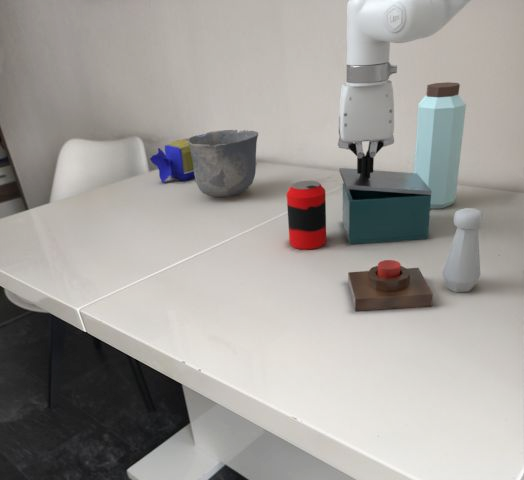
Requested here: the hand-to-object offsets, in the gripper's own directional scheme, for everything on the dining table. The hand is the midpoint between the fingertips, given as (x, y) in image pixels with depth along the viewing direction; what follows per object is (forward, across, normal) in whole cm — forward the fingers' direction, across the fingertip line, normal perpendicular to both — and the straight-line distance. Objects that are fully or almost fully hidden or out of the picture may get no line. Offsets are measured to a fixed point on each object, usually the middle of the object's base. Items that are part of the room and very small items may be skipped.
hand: (365, 176), depth 108 cm
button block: (+12, 0, +29) cm, 31 cm away
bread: (+12, +43, -59) cm, 74 cm away
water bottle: (+12, -18, -15) cm, 26 cm away
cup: (+12, +31, -34) cm, 47 cm away
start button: (+8, 0, +29) cm, 30 cm away
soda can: (+12, +12, +4) cm, 17 cm away
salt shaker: (+12, -12, +28) cm, 33 cm away
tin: (+12, -4, 0) cm, 12 cm away
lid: (+1, -4, 0) cm, 4 cm away
